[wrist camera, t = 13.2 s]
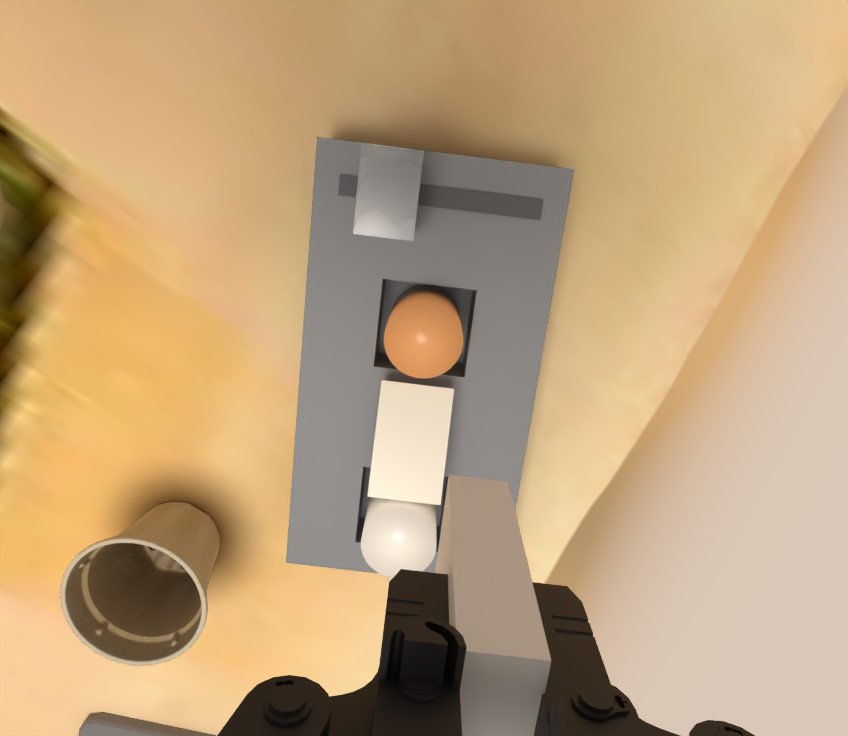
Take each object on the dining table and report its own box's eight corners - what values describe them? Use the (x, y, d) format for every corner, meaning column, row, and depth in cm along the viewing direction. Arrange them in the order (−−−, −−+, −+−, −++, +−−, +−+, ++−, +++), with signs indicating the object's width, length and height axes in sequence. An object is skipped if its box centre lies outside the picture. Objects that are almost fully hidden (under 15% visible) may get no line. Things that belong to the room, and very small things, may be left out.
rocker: (368, 493, 41) (367, 496, 40) (382, 380, 42) (381, 380, 40) (439, 501, 41) (440, 505, 40) (452, 389, 42) (454, 388, 40)
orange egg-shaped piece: (386, 349, 45) (379, 373, 39) (394, 281, 44) (388, 296, 38) (454, 357, 45) (457, 382, 39) (464, 289, 44) (468, 306, 38)
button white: (366, 525, 47) (357, 573, 41) (373, 465, 46) (364, 506, 40) (431, 533, 47) (431, 582, 41) (440, 473, 46) (441, 515, 40)
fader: (362, 228, 40) (353, 233, 35) (369, 146, 38) (361, 142, 34) (415, 234, 40) (413, 241, 35) (425, 153, 38) (424, 150, 34)
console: (300, 526, 51) (281, 574, 45) (330, 142, 44) (312, 135, 37) (495, 549, 51) (503, 599, 45) (558, 170, 44) (579, 168, 38)
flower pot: (189, 457, 50) (140, 512, 41) (267, 551, 52) (235, 622, 43) (95, 520, 51) (29, 586, 43) (174, 609, 53) (125, 689, 45)
